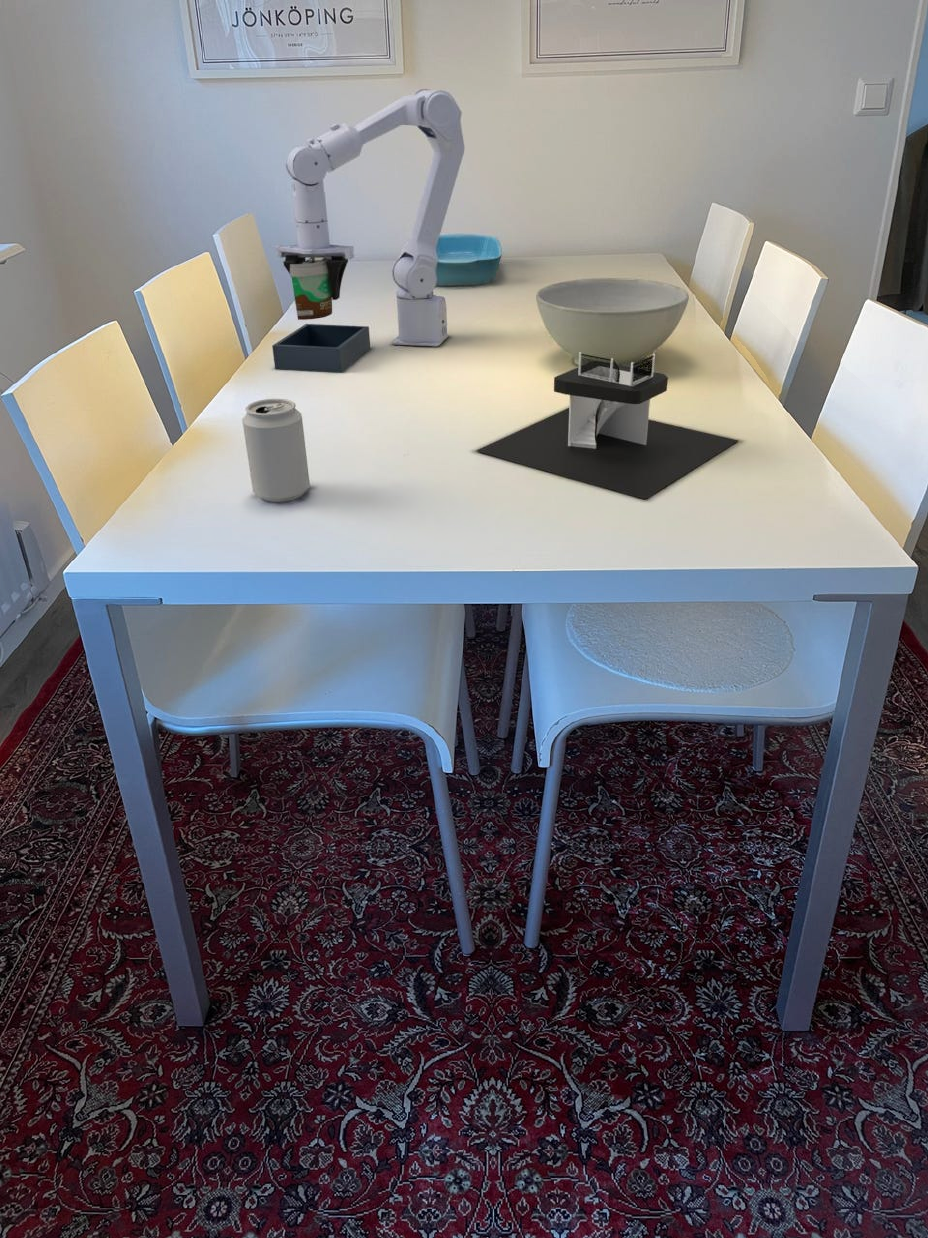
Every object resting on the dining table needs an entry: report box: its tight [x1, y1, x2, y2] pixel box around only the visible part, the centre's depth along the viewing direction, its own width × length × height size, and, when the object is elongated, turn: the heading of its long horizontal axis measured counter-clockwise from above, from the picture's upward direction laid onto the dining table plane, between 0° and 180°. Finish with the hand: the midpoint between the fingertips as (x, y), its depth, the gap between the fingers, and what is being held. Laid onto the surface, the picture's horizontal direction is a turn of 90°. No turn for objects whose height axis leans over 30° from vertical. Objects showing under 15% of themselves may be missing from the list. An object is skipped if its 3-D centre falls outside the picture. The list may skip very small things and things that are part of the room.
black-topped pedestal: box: [475, 352, 739, 500], centre depth 132 cm, size 28×26×13 cm
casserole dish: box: [435, 233, 503, 287], centre depth 240 cm, size 37×22×7 cm, turn 0°
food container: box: [289, 258, 333, 321], centre depth 175 cm, size 12×6×10 cm, turn 169°
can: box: [241, 398, 311, 503], centre depth 121 cm, size 8×8×12 cm
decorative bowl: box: [535, 277, 690, 368], centre depth 169 cm, size 27×27×12 cm
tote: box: [271, 323, 372, 373], centre depth 177 cm, size 13×16×4 cm
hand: (319, 298), depth 176 cm, fingers closed on food container, 6 cm apart
